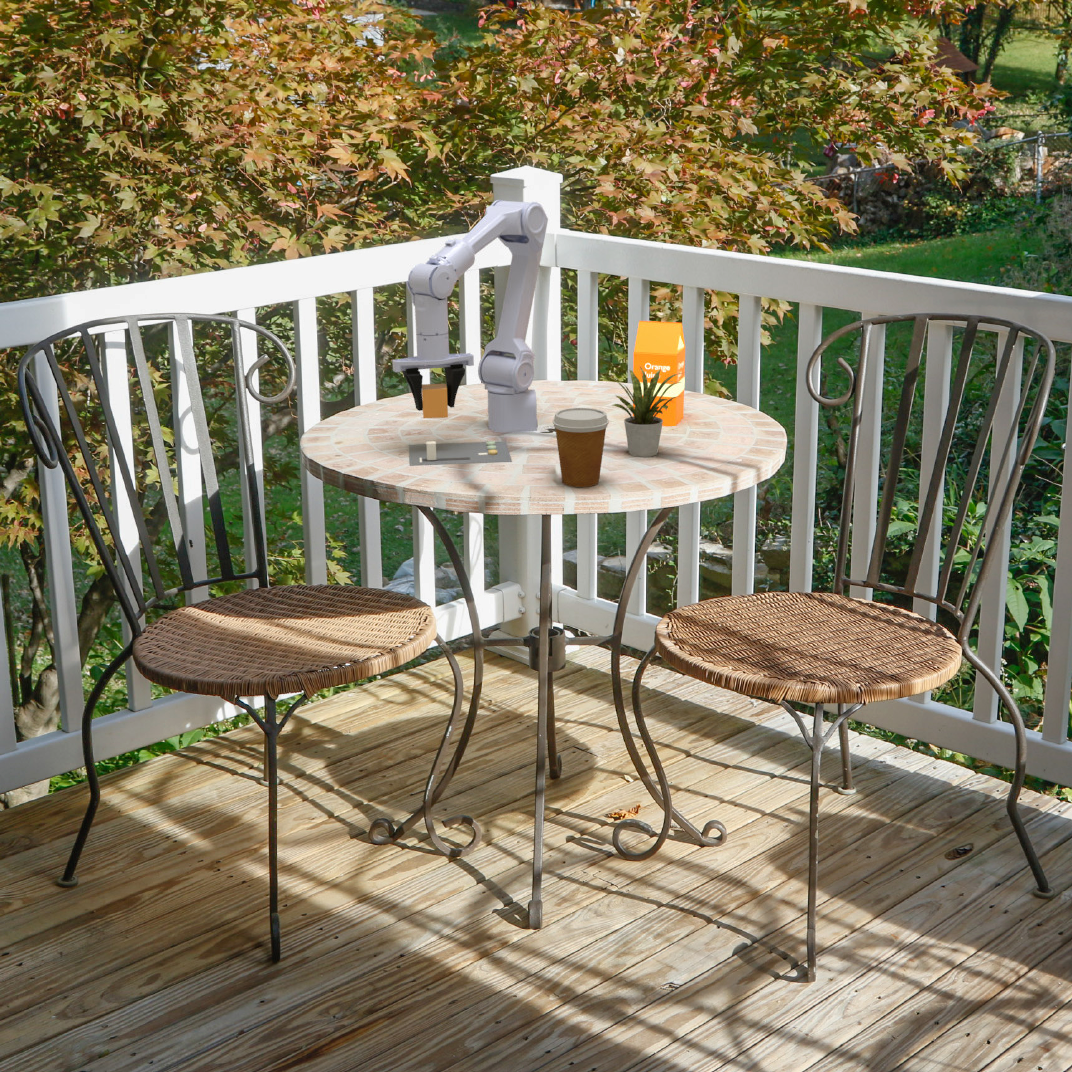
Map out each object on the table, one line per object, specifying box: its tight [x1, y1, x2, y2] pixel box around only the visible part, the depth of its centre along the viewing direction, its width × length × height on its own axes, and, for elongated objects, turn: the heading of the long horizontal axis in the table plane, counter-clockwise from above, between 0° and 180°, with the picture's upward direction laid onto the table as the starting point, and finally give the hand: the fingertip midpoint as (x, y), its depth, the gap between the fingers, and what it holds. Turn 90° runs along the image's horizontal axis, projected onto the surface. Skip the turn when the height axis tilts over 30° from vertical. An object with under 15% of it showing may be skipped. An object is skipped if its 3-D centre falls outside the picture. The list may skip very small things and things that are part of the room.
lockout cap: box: [422, 383, 449, 419], centre depth 236 cm, size 4×4×5 cm
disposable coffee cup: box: [552, 407, 610, 488], centre depth 221 cm, size 10×10×12 cm
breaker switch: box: [425, 440, 437, 460], centre depth 231 cm, size 2×2×3 cm
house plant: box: [606, 365, 683, 458], centre depth 237 cm, size 14×14×16 cm
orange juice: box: [632, 320, 686, 427], centre depth 260 cm, size 8×9×20 cm
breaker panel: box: [408, 440, 513, 467], centre depth 236 cm, size 18×14×2 cm
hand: (435, 407), depth 236 cm, fingers closed on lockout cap, 5 cm apart
